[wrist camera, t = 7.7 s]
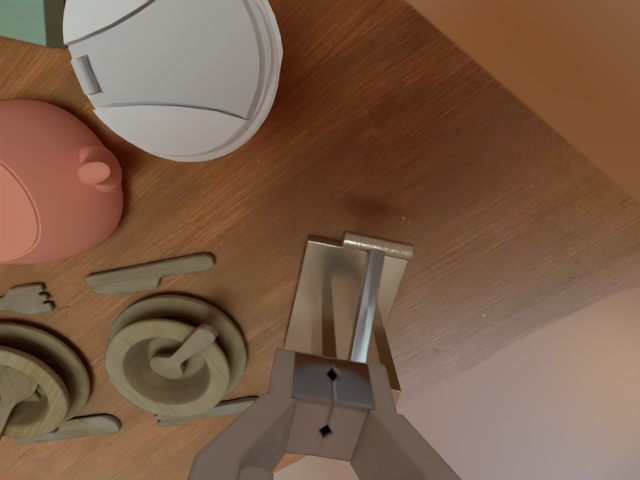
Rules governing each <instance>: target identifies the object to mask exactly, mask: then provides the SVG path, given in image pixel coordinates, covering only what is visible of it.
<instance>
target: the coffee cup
mask: <svg viewBox="0 0 640 480" xmlns="http://www.w3.org/2000/svg"><path fill="white" fill-rule="evenodd" d="M63 39H64V44H65V45H68V46H69V51H70V53H71V56H72V61H70V62H71V64H72V66H73V69H74V71H75V73H76V76H77V78H78V80H79V83H80V85H81V87H82V90H83V92H84V94H85V95H87V96H88V98H89V99H90V101H91V102H92V105H93V107H95V108H96V110H93V111H94V113H95V114H96V115H97V116H98V117H99V118H100V119H101V121H102V122H103V123H105V124H106V125H107V126H108V127H109V128H110V129H111V130H112V131H114V132H115V133H116V134H118V135H119V136H120V137H122V138H123V139H125V140H126V141H128V142H130V143H132V144H134V145H135V146H136V147H138V148H140V149H142V150H144V151H146V152H148V153H150V154H153V155H156V156H159V157H162V158H165V159H169V160H174V161H180V162H200V161H207V160H212V159H215V158H218V157H222V156H224V155H226V154H228V153H230V152H232V151H234V150H236V149H238V148H239V147H240V146H242V145H243V144H244V143H246V142H247V141H248V140H249V139H250V138H251V137H252V136H253V135H254V134H255V133H256V132H257V131H258V129H259V128H260V127H261V125H262V124H263V122H264V121H265V119H266V118H267V115H268V113H269V111H270V109H271V107H272V105H273V102H274V98H275V95H276V92H277V88H278V85H279V82H280V77H281V62H282V56H283V49H282V42H281V35H280V32H279V28H278V25H277V22H276V18H275V15H274V13H273V11H272V9H271V6H270V4H269V2H268V0H66V4H65V9H64V17H63Z"/></svg>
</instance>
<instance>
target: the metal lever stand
mask: <svg viewBox="0 0 640 480" xmlns="http://www.w3.org/2000/svg"><path fill="white" fill-rule="evenodd" d="M366 254H367V252H364V251H359V250H354V249H348V248H343V247H341V242H339V241H334V240H329V239H324V238H319V237H314V236H308V239H307V243H306V248H305V252H304V257H303V261H302V266H301V270H300V275H299V279H298V283H297V288H296V292H295V297H294V301H293V306H292V310H291V314H290V319H289V323H288V328H287V332H286V337H285V341H284V348H283V349H287V350H293V351H300V352H305V353H310V354H316V355H321V356H326V357H332V358H338V359H344V360H347V359H348V354H349V348H350V342H351V337H352V331H353V326H354V320H355V315H356V309H357V304H358V298H359V293H360V287H361V282H362V276H363V270H364V265H365V259H366ZM407 264H408V260H404V259H399V258H394V257H389V256H385V258H384V263H383V269H382V275H381V280H380V286H379V292H378V297H377V303H376V309H375V314H374V320H373V326H372V331H371V337H370V343H369V348H368V354H367V360H366V363H373V364H381V365H384V366H385V367H386V370H387V374H388V378H389V383H390V387H391V391H392V395H393V399H394V403H395V406H396V403H397V401H398V398H399V396H400V393H401V388H400V385H399V381H398V377H397V374H396V370H395V366H394V362H393V359H392V355H391V351H390V348H389V344H388V340H387V336H386V333H385V326H386V323H387V320H388V318H389V315H390V312H391V309H392V306H393V303H394V301H395V298H396V295H397V292H398V289H399V286H400V283H401V281H402V278H403V275H404V272H405V269H406V266H407Z"/></svg>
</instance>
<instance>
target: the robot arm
mask: <svg viewBox="0 0 640 480" xmlns="http://www.w3.org/2000/svg"><path fill="white" fill-rule="evenodd" d="M285 453H292V454H301V455H310V456H319V457H325V458H331V459H336V460H343V461H348V462H351V463H350V464H351V465H352V467H353V469H354V471H355V473H356V474H357V476H358V478H359V480H462V479H461V478H460V477H459V476H458V475H457V474H456V473H455V472H454V471H453V470H452V468H451V467H450V466H449V465H448V464H447V463H446V462H445V461H444V460H443V459H442V458H441V457H440V455H439V454H438V453H437V452H436V451H435V450H434V449H433V448H432V447H431V446H430V445H429V443H428V442H427V441H426V440H425V439H424V438H423V437H422V436H421V435H420V434H419V432H418V431H417V430H416V429H415V428H414V427H413V426H412V425H411V424H410V423H409V421H408V420H407V419H406V418H405V417H404V416H403V415H400V414H397V412H396V408H395V403H394V399H393V395H392V391H391V387H390V383H389V378H388V374H387V370H386V367H385V366H384V365H381V364H373V363H364V362H357V361H351V360H344V359H338V358H332V357H326V356H321V355H316V354H310V353H305V352H300V351H293V350H287V349H282V348H276V352H275V357H274V361H273V366H272V371H271V376H270V381H269V386H268V391H267V394H262V395H261V396H260V397H259V398H258V399H257V400H256V401H255V402H254V403H252V404H251V405H250V406H249V407H248V408H247V409H246V410H245V411H244V412H243V413H242V414H240V415H239V416H238V417H237V418H236V419H235V420H234V421H233V422H232V423H231V424H229V425H228V426H227V427H226V428H225V429H224V430H223V431H222V432H221V433H220V434H218V435H217V436H216V437H215V438H214V439H213V440H212V441H211V442H210V443H209V444H207V445H206V446H205V447H204V448H203V449H202V450H201V451H200V452H199V453H198V454H196V455H195V458H194V461H193V464H192V467H191V470H190V473H189V476H188V479H187V480H273V475H274V474H273V473H272V471H273V470H274V468H275V467H276V466H277V464H278V463H279V461H280V460H281V459H282V457H283V456H284V454H285Z"/></svg>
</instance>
